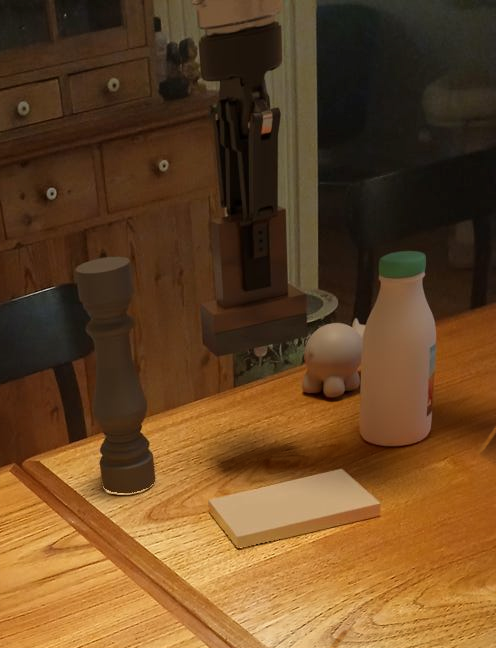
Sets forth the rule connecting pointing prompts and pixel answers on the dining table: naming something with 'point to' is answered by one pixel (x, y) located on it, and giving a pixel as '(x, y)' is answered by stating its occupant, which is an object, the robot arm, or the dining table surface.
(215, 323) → the stepped wooden block
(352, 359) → the round bodied animal figurine
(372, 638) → the dining table surface
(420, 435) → the milk bottle
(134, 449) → the candle holder
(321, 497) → the tile
